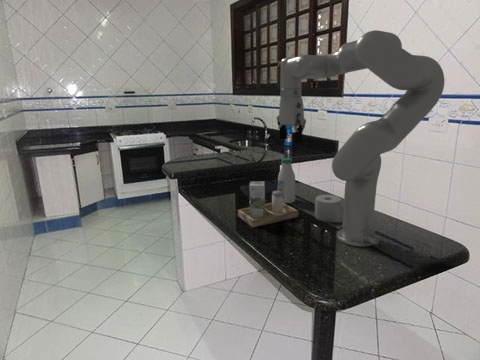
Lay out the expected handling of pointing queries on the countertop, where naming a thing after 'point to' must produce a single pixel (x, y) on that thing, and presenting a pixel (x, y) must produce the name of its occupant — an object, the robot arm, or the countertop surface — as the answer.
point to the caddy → (267, 215)
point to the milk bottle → (287, 181)
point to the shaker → (277, 202)
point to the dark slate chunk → (268, 188)
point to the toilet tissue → (328, 208)
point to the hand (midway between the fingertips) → (290, 140)
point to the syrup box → (257, 200)
